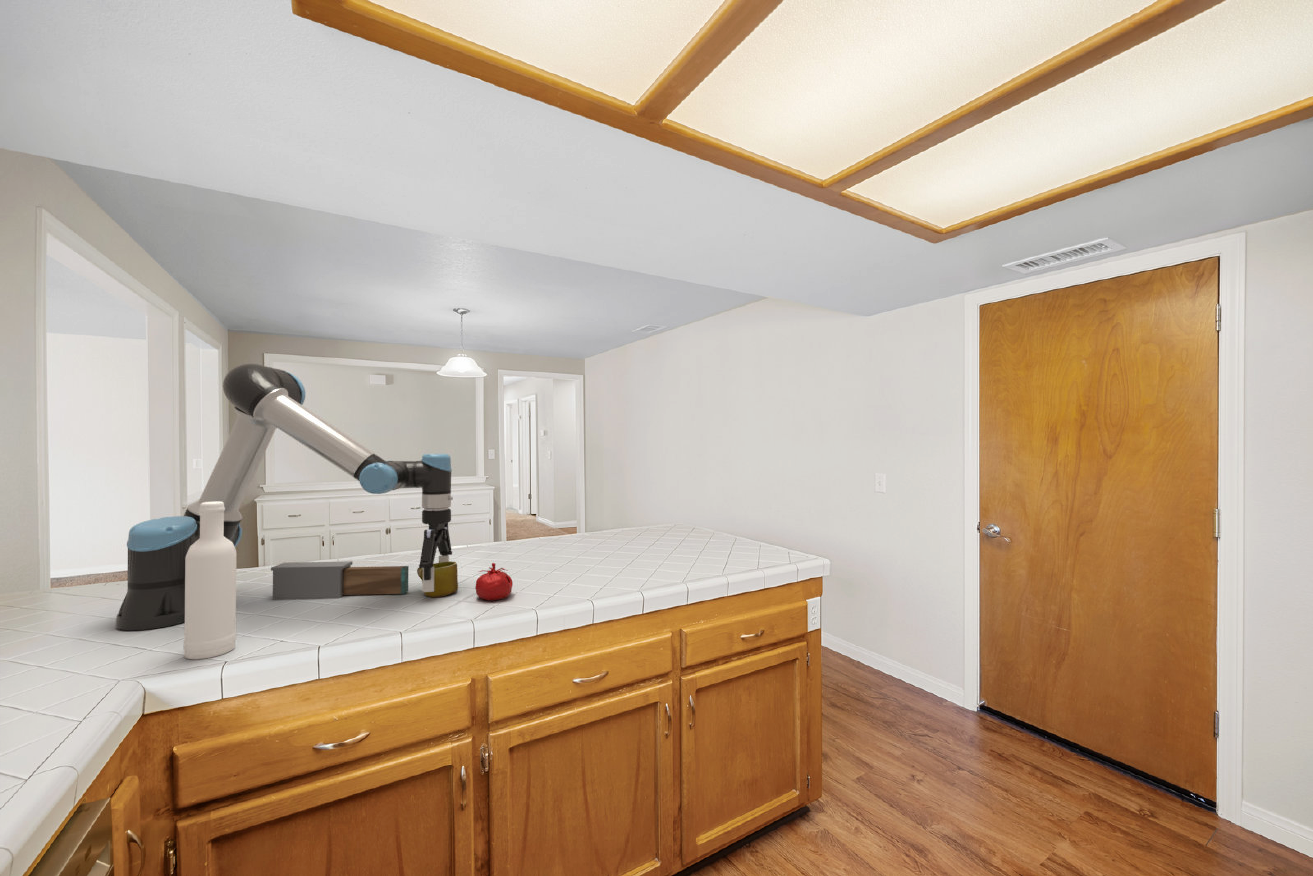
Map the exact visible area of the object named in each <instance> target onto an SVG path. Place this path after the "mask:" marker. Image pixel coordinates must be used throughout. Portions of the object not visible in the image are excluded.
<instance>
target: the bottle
mask: <svg viewBox="0 0 1313 876" xmlns="http://www.w3.org/2000/svg"><path fill="white" fill-rule="evenodd" d="M224 510H225V507H224V503H223V502H220V501H215V502H203V503H201V504H200V509H199V512H200V538H199V539H198V540H197V541H196V542H195V543H194V544H192V545H191V546H190V548H189V550H188V552H187V555H186V557H185V622H184V640H183V650H184V651H183V653H184V655H183V657H184V658H185V659H189V660H204V659H209V658H214V657H218V656H222V655H224V654H227V653H230V652H232V651H233V650H234V649H235V647H236V640H237V631H236V629H237V627H236V624H237V623H236V621H237V620H236V619H237V550H236V547H234V545H233V542H231V541H230V540H229V539H227V538H226V537H224Z"/></svg>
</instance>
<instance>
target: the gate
mask: <svg viewBox="0 0 1313 876" xmlns="http://www.w3.org/2000/svg"><path fill="white" fill-rule="evenodd" d="M409 566H410V565H397V566H396V565H393V566H384V565H383V566H351V567H347V568H345V569H343V593H342V596H351V595H352V596H356V595H358V596H359V595H396V594H397V595H398V594H401V595H402V594H403V595H404V594H406V593H407V592H409Z"/></svg>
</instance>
